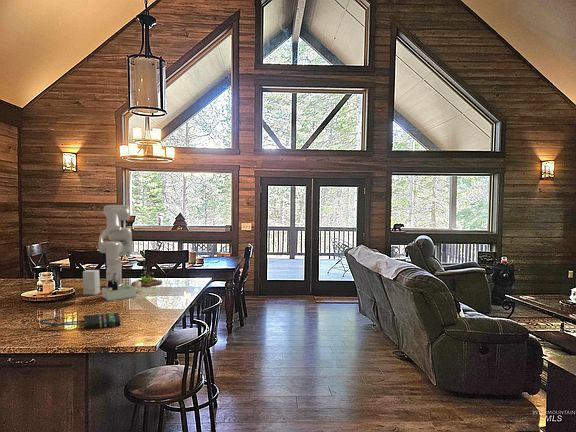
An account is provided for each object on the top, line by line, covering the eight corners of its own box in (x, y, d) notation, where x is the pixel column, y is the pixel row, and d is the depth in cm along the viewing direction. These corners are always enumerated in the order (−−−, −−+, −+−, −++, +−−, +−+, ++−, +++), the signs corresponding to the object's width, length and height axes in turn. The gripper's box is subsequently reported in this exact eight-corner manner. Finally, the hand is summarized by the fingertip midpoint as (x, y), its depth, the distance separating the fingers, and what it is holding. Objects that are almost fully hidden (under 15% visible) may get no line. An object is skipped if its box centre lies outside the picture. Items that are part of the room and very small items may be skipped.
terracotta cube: (107, 296, 260) (107, 289, 260) (115, 295, 263) (115, 288, 263) (109, 298, 256) (109, 290, 256) (117, 297, 259) (117, 289, 259)
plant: (126, 286, 297) (126, 271, 297) (143, 282, 316) (143, 267, 315) (149, 288, 291) (149, 273, 291) (165, 283, 310) (165, 269, 309)
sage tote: (102, 296, 262) (102, 288, 262) (129, 293, 273) (129, 285, 273) (107, 300, 252) (107, 291, 252) (136, 297, 262) (136, 288, 262)
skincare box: (100, 293, 273) (100, 269, 273) (94, 295, 267) (94, 271, 266) (88, 292, 274) (88, 269, 274) (82, 294, 268) (82, 271, 267)
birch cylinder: (132, 292, 278) (132, 281, 277) (139, 291, 281) (139, 281, 281) (134, 293, 274) (134, 282, 274) (142, 292, 277) (142, 282, 277)
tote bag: (120, 319, 199) (37, 326, 184) (120, 329, 199) (37, 337, 184) (118, 309, 218) (42, 315, 203) (118, 318, 218) (42, 324, 203)
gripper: (102, 260, 264) (102, 287, 264) (110, 264, 250) (110, 291, 251) (114, 260, 268) (114, 285, 269) (122, 263, 255) (122, 290, 255)
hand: (112, 288), depth 260 cm, fingers open, 9 cm apart
